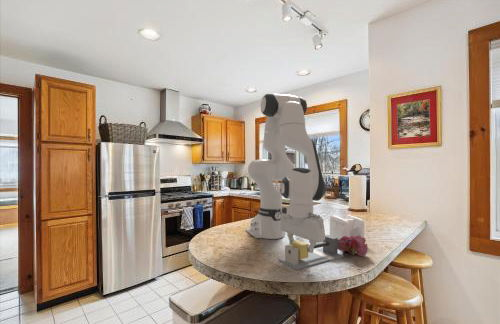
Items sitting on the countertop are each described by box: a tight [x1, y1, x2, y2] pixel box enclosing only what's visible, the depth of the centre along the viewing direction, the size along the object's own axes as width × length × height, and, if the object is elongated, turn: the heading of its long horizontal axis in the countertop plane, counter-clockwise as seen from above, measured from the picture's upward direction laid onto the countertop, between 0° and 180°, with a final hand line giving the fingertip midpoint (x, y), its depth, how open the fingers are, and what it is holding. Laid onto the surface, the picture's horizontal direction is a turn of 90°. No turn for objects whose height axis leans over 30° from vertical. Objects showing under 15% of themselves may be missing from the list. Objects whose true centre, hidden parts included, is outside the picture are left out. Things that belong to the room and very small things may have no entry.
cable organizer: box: [329, 214, 365, 240], centre depth 117 cm, size 15×11×12 cm
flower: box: [338, 235, 368, 261], centre depth 99 cm, size 11×10×10 cm
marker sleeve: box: [291, 240, 310, 260], centre depth 91 cm, size 5×4×5 cm
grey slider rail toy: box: [278, 234, 345, 271], centre depth 94 cm, size 10×25×7 cm, turn 122°
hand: (300, 248), depth 90 cm, fingers open, 8 cm apart
